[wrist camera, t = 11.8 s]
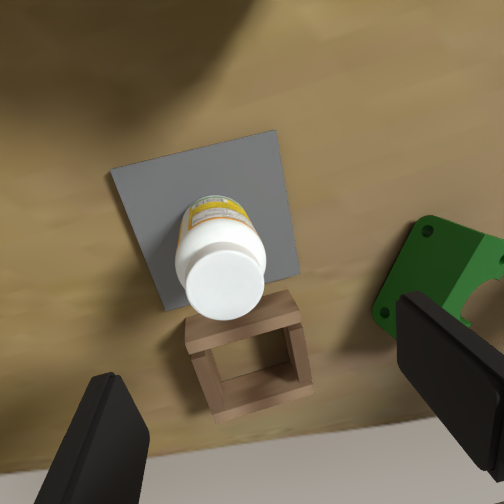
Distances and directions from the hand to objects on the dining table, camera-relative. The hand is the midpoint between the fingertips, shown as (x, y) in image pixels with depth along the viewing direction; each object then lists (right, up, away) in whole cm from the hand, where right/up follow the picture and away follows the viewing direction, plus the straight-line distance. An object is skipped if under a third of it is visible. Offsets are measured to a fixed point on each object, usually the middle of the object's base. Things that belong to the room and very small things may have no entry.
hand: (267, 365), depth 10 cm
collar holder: (-1, -5, +20) cm, 20 cm away
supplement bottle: (-3, +6, +14) cm, 16 cm away
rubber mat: (-3, +6, +15) cm, 16 cm away
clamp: (+16, +2, +20) cm, 26 cm away
